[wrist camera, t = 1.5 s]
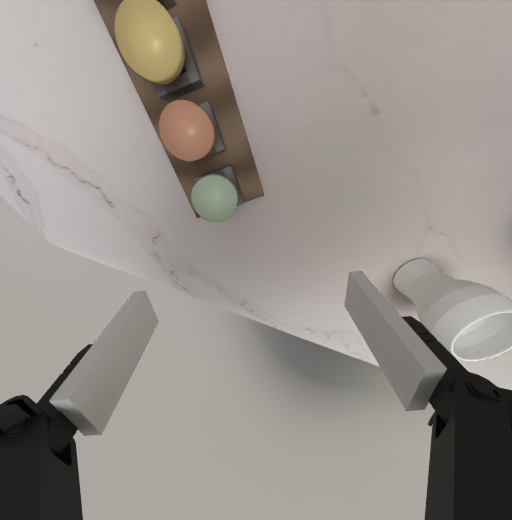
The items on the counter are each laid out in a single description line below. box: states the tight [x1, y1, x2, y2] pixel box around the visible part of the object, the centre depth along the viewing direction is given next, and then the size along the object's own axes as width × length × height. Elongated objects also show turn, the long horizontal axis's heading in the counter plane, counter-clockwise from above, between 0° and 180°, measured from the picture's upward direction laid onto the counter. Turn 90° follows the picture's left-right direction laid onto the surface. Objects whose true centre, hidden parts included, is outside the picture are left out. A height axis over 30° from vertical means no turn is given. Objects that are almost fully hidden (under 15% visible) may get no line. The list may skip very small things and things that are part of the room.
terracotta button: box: [159, 100, 215, 161], centre depth 23 cm, size 5×5×5 cm
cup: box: [393, 259, 512, 361], centre depth 35 cm, size 11×11×15 cm
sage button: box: [191, 174, 238, 222], centre depth 27 cm, size 5×5×5 cm
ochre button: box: [115, 0, 185, 84], centre depth 20 cm, size 5×5×5 cm
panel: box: [94, 0, 264, 218], centre depth 26 cm, size 27×11×4 cm, turn 18°
